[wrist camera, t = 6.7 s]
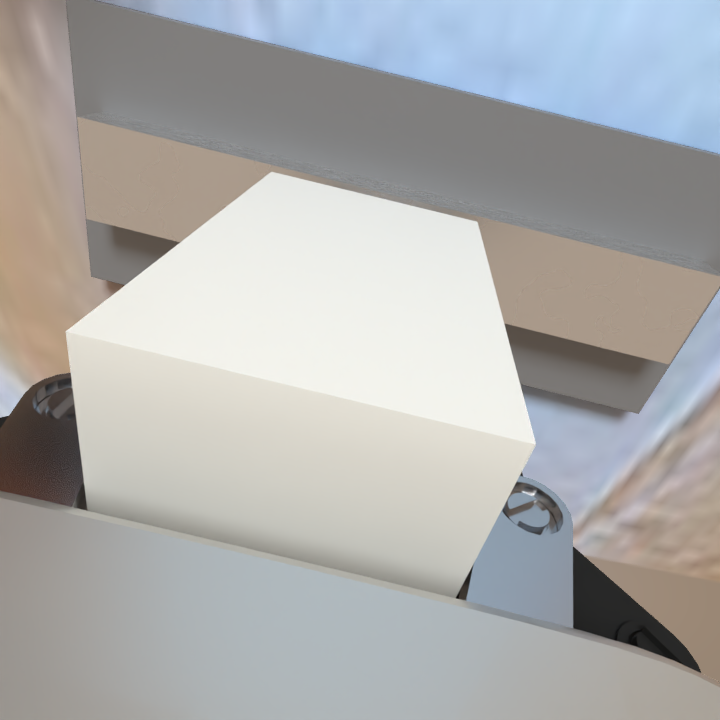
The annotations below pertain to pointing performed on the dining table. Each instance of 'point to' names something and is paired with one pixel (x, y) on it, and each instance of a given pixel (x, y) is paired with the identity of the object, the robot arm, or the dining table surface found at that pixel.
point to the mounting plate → (402, 158)
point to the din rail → (498, 228)
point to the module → (309, 387)
